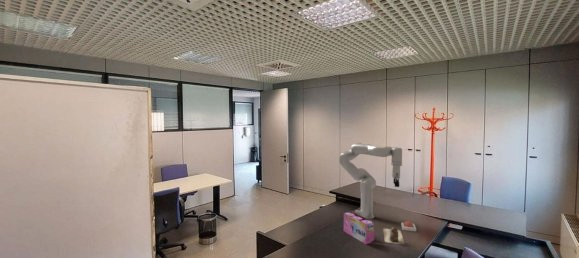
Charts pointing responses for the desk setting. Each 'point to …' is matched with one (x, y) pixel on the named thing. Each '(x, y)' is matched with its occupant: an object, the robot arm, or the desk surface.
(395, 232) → the pawn
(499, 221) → the desk surface
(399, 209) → the desk surface
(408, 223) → the red dome
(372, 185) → the robot arm
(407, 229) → the popper base
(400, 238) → the track board
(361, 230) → the pink printed package
